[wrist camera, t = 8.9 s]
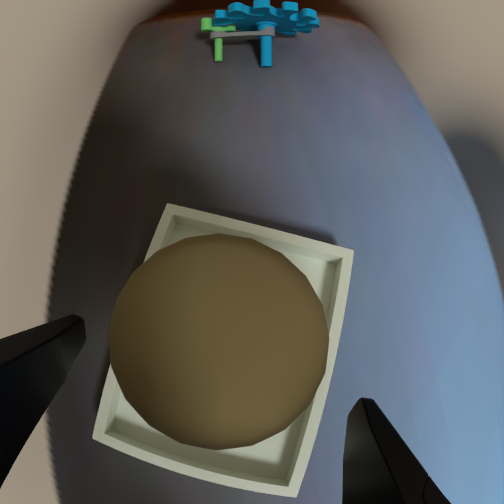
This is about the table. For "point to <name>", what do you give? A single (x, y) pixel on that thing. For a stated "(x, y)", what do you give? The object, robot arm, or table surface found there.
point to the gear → (258, 25)
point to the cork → (218, 341)
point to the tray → (276, 447)
